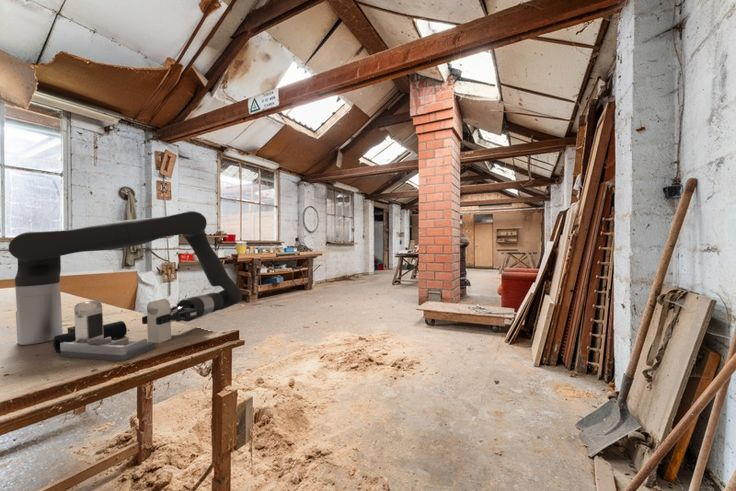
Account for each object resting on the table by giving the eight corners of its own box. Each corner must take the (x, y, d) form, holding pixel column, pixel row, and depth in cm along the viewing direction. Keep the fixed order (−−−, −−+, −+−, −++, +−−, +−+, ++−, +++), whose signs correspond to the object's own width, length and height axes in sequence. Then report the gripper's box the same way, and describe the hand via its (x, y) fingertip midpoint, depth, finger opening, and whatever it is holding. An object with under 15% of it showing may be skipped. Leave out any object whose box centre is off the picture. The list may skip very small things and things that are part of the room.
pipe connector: (41, 331, 84) (105, 317, 98) (42, 349, 84) (106, 333, 98) (61, 336, 80) (126, 321, 93) (62, 356, 80) (127, 338, 93)
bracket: (60, 356, 78) (58, 305, 78) (98, 344, 87) (96, 298, 86) (122, 361, 74) (119, 306, 73) (155, 347, 83) (153, 299, 82)
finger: (147, 342, 87) (145, 301, 87) (159, 337, 91) (158, 298, 91) (159, 343, 87) (158, 301, 86) (171, 338, 90) (169, 299, 90)
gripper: (178, 296, 104) (129, 307, 87) (213, 296, 101) (170, 308, 84) (178, 317, 104) (130, 333, 88) (214, 318, 101) (171, 335, 85)
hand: (150, 321), depth 86 cm, fingers closed on finger, 4 cm apart
